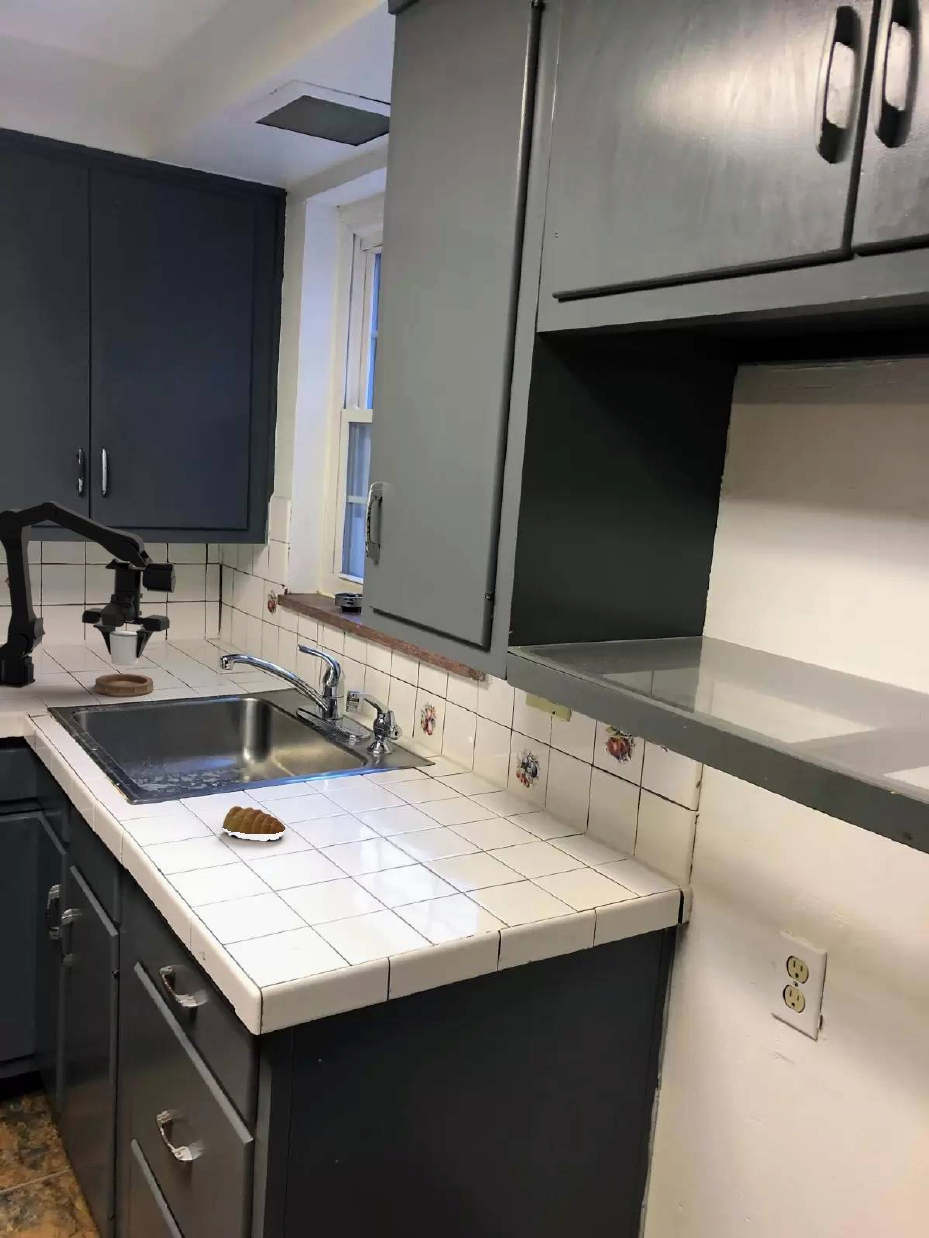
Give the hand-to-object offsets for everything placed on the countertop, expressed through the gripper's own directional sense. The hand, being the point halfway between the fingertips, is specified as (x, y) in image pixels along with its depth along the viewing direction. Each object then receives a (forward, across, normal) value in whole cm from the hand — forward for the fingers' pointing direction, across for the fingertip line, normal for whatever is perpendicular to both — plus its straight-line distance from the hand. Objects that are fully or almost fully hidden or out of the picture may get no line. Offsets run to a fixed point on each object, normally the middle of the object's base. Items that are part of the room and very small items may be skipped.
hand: (124, 656), depth 226 cm
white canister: (+2, 0, 0) cm, 2 cm away
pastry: (+8, +54, -70) cm, 89 cm away
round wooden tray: (+8, 0, 0) cm, 8 cm away
